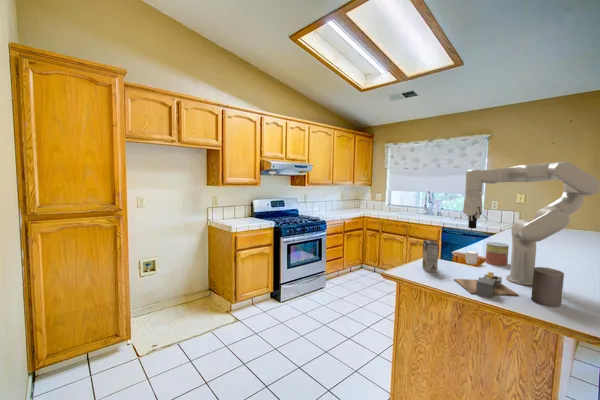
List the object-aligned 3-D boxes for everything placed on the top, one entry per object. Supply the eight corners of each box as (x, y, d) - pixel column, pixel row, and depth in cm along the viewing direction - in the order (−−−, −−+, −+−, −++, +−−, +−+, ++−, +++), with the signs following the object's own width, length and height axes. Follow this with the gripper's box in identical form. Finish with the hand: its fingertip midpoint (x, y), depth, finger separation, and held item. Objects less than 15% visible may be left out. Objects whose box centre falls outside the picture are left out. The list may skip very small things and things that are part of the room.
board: (495, 282, 142) (496, 280, 142) (518, 296, 125) (518, 294, 125) (454, 280, 144) (454, 278, 144) (470, 293, 127) (470, 292, 127)
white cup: (462, 261, 177) (462, 250, 177) (472, 261, 178) (473, 250, 177) (469, 264, 170) (470, 253, 170) (480, 264, 171) (481, 253, 170)
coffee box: (421, 266, 166) (422, 239, 165) (433, 267, 165) (434, 240, 164) (425, 271, 157) (426, 243, 156) (437, 272, 156) (439, 243, 155)
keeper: (478, 289, 132) (479, 277, 132) (494, 293, 128) (495, 280, 128) (475, 294, 127) (476, 281, 126) (491, 298, 123) (492, 284, 123)
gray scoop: (484, 280, 142) (485, 274, 142) (501, 283, 138) (501, 277, 138) (478, 290, 129) (479, 283, 129) (496, 294, 125) (497, 287, 124)
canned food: (508, 267, 166) (509, 247, 165) (485, 264, 172) (486, 244, 171) (507, 262, 175) (508, 243, 174) (485, 259, 181) (486, 241, 180)
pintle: (491, 282, 140) (491, 272, 139) (493, 283, 137) (494, 273, 137) (486, 281, 140) (486, 272, 140) (488, 283, 138) (489, 273, 137)
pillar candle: (525, 297, 124) (527, 264, 122) (545, 296, 124) (548, 263, 123) (545, 308, 114) (549, 272, 113) (568, 307, 115) (571, 271, 113)
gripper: (459, 192, 155) (457, 225, 157) (474, 194, 140) (472, 230, 142) (473, 192, 155) (471, 225, 156) (489, 194, 140) (488, 230, 141)
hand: (472, 228), depth 149 cm, fingers closed
